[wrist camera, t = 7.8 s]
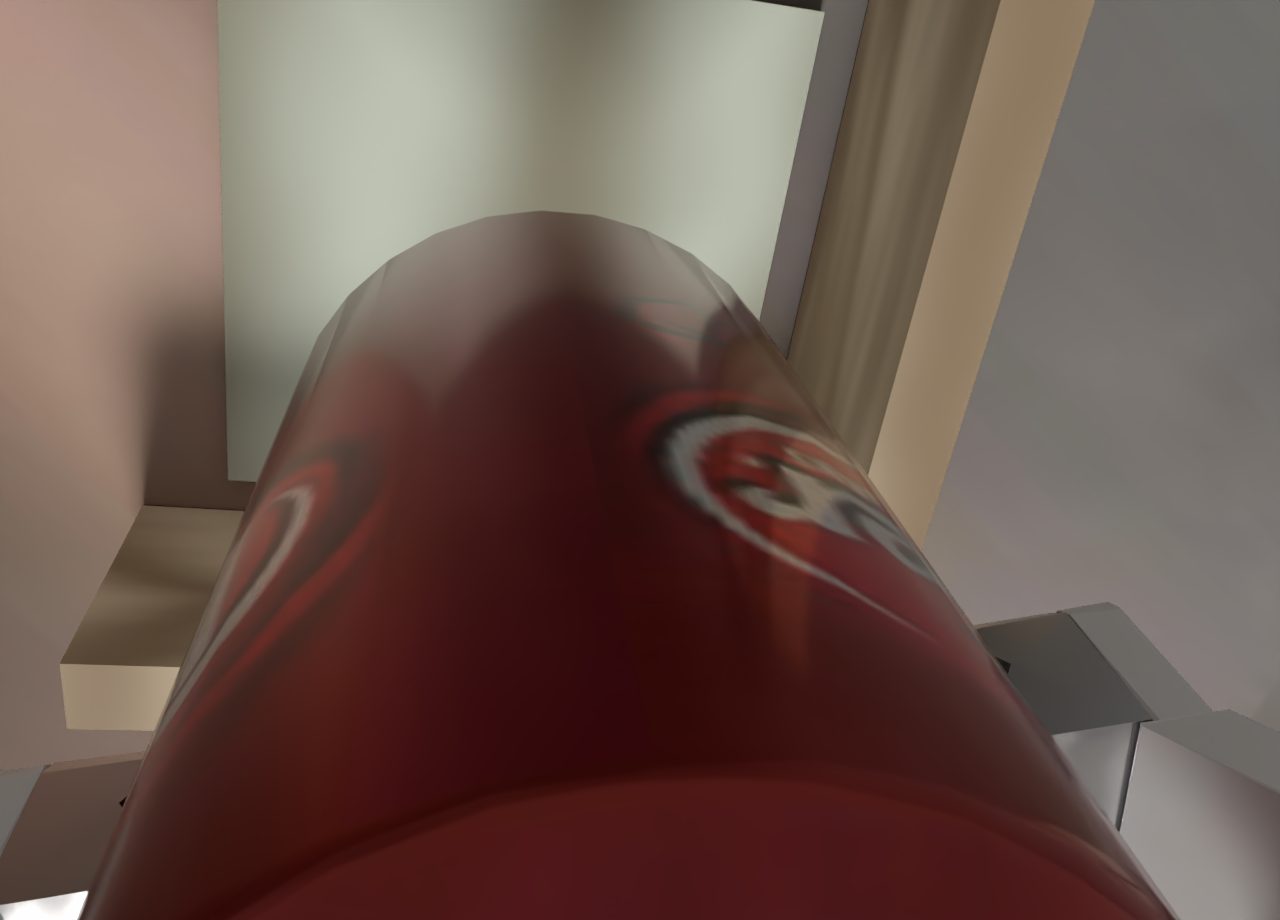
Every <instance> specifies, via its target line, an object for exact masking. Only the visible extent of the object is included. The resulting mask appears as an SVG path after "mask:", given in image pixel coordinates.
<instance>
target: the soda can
mask: <svg viewBox="0 0 1280 920" xmlns="http://www.w3.org/2000/svg"><path fill="white" fill-rule="evenodd" d="M76 920H1181V919H1180V918H1179V917H1178V915H1177V914H1176V912H1175V911H1174V910H1173V908H1172V907H1171V905H1170V904H1169V902H1168V901H1167V900H1166V898H1165V897H1164V895H1163V894H1162V893H1161V891H1160V890H1159V888H1158V887H1157V885H1156V884H1155V883H1154V881H1153V880H1152V878H1151V877H1150V875H1149V874H1148V873H1147V871H1146V870H1145V868H1144V867H1143V866H1142V864H1141V863H1140V861H1139V860H1138V858H1137V857H1136V856H1135V854H1134V853H1133V851H1132V850H1131V849H1130V847H1129V846H1128V844H1127V843H1126V841H1125V840H1124V839H1123V837H1122V836H1121V834H1120V833H1119V831H1118V830H1117V829H1116V827H1115V826H1114V824H1113V823H1112V822H1111V820H1110V819H1109V817H1108V816H1107V814H1106V813H1105V812H1104V810H1103V809H1102V807H1101V806H1100V805H1099V803H1098V802H1097V800H1096V799H1095V797H1094V796H1093V795H1092V793H1091V792H1090V790H1089V789H1088V787H1087V786H1086V785H1085V783H1084V782H1083V780H1082V779H1081V778H1080V776H1079V775H1078V773H1077V772H1076V770H1075V769H1074V768H1073V766H1072V765H1071V763H1070V762H1069V761H1068V759H1067V758H1066V756H1065V755H1064V753H1063V752H1062V751H1061V749H1060V748H1059V746H1058V745H1057V743H1056V742H1055V741H1054V739H1053V738H1052V736H1051V735H1050V734H1049V732H1048V731H1047V729H1046V728H1045V726H1044V725H1043V724H1042V722H1041V721H1040V719H1039V718H1038V716H1037V715H1036V714H1035V712H1034V711H1033V709H1032V708H1031V707H1030V705H1029V704H1028V702H1027V701H1026V699H1025V698H1024V697H1023V695H1022V694H1021V692H1020V691H1019V690H1018V688H1017V687H1016V685H1015V684H1014V682H1013V681H1012V680H1011V678H1010V677H1009V675H1008V674H1007V672H1006V671H1005V670H1004V668H1003V667H1002V665H1001V664H1000V663H999V661H998V660H997V658H996V657H995V655H994V654H993V653H992V651H991V650H990V648H989V647H988V646H987V644H986V643H985V641H984V640H983V638H982V637H981V636H980V634H979V633H978V631H977V630H976V628H975V627H974V626H973V624H972V623H971V621H970V620H969V619H968V617H967V616H966V614H965V613H964V611H963V610H962V609H961V607H960V606H959V604H958V603H957V602H956V600H955V599H954V597H953V596H952V594H951V593H950V592H949V590H948V589H947V587H946V586H945V584H944V583H943V582H942V580H941V579H940V577H939V576H938V575H937V573H936V572H935V570H934V569H933V567H932V566H931V565H930V563H929V562H928V560H927V559H926V558H925V556H924V555H923V553H922V552H921V550H920V549H919V548H918V546H917V545H916V543H915V542H914V540H913V539H912V538H911V536H910V535H909V533H908V532H907V531H906V529H905V528H904V526H903V525H902V523H901V522H900V521H899V519H898V518H897V516H896V515H895V514H894V512H893V511H892V509H891V508H890V506H889V505H888V504H887V502H886V501H885V499H884V498H883V496H882V495H881V494H880V492H879V491H878V489H877V488H876V487H875V485H874V484H873V482H872V481H871V479H870V478H869V477H868V475H867V474H866V472H865V471H864V470H863V468H862V467H861V465H860V464H859V462H858V461H857V460H856V458H855V457H854V455H853V454H852V452H851V451H850V450H849V448H848V447H847V445H846V444H845V443H844V441H843V440H842V438H841V437H840V435H839V434H838V433H837V431H836V430H835V428H834V427H833V426H832V424H831V423H830V421H829V420H828V418H827V417H826V416H825V414H824V413H823V411H822V410H821V408H820V407H819V406H818V404H817V403H816V401H815V400H814V399H813V397H812V396H811V394H810V393H809V391H808V390H807V389H806V387H805V386H804V384H803V383H802V382H801V380H800V379H799V377H798V376H797V374H796V373H795V372H794V370H793V369H792V367H791V366H790V364H789V363H788V362H787V360H786V359H785V357H784V356H783V355H782V353H781V352H780V350H779V349H778V347H777V346H776V345H775V343H774V342H773V340H772V339H771V338H770V336H769V335H768V333H767V332H766V330H765V329H764V328H763V326H762V325H761V323H760V322H759V321H758V319H757V318H756V317H755V316H754V314H753V313H752V312H751V311H750V309H749V308H748V307H747V306H746V304H745V303H744V302H743V301H742V299H741V298H740V297H739V296H738V294H737V293H736V292H735V291H734V289H733V288H732V287H731V286H730V284H728V283H727V282H726V281H725V280H723V279H722V278H721V277H720V276H719V275H717V274H716V273H715V272H714V271H712V270H711V269H710V268H709V267H708V266H706V265H705V264H704V263H703V262H701V261H700V260H699V259H698V258H697V257H695V256H694V255H693V254H692V253H690V252H688V251H686V250H684V249H682V248H680V247H678V246H676V245H674V244H672V243H670V242H669V241H667V240H665V239H663V238H661V237H659V236H657V235H655V234H653V233H651V232H649V231H647V230H645V229H643V228H639V227H636V226H632V225H629V224H625V223H622V222H618V221H615V220H611V219H608V218H604V217H601V216H597V215H593V214H580V213H568V212H555V211H543V210H539V211H531V212H522V213H513V214H505V215H496V216H487V217H484V218H481V219H478V220H475V221H472V222H469V223H466V224H462V225H459V226H456V227H453V228H450V229H447V230H444V231H441V232H438V233H435V234H433V235H432V236H430V237H428V238H426V239H424V240H423V241H421V242H419V243H417V244H416V245H414V246H412V247H410V248H409V249H407V250H405V251H403V252H401V253H400V254H398V255H396V256H394V257H393V258H391V259H389V260H388V261H387V262H386V263H385V264H383V265H382V266H381V267H380V268H379V269H378V270H377V271H375V272H374V273H373V274H372V275H371V276H370V277H369V278H367V279H366V280H365V281H364V282H363V283H362V284H361V285H359V286H358V287H357V288H356V289H355V290H354V291H353V292H351V293H350V294H349V295H348V296H347V298H346V299H345V300H344V302H343V303H342V305H341V306H340V307H339V309H338V310H337V311H336V313H335V314H334V315H333V317H332V318H331V319H330V321H329V322H328V323H327V325H326V326H325V327H324V329H323V330H322V331H321V333H320V334H319V335H318V338H317V340H316V342H315V344H314V347H313V349H312V351H311V353H310V356H309V358H308V360H307V362H306V365H305V367H304V369H303V371H302V374H301V376H300V378H299V380H298V383H297V385H296V388H295V390H294V392H293V395H292V397H291V400H290V402H289V405H288V407H287V409H286V412H285V414H284V417H283V419H282V422H281V424H280V426H279V429H278V431H277V434H276V436H275V439H274V441H273V443H272V446H271V448H270V451H269V453H268V456H267V458H266V460H265V463H264V465H263V468H262V470H261V473H260V475H259V477H258V480H257V482H256V485H255V487H254V490H253V492H252V494H251V497H250V499H249V502H248V504H247V506H246V509H245V511H244V514H243V516H242V519H241V521H240V523H239V526H238V528H237V531H236V533H235V536H234V538H233V540H232V543H231V545H230V548H229V550H228V553H227V555H226V557H225V560H224V562H223V565H222V567H221V570H220V572H219V574H218V577H217V579H216V582H215V584H214V587H213V589H212V591H211V594H210V596H209V599H208V601H207V604H206V606H205V608H204V611H203V613H202V616H201V618H200V621H199V623H198V625H197V628H196V630H195V633H194V635H193V637H192V640H191V642H190V645H189V647H188V650H187V652H186V654H185V657H184V659H183V662H182V664H181V667H180V669H179V671H178V674H177V676H176V679H175V681H174V684H173V686H172V688H171V691H170V693H169V696H168V698H167V701H166V703H165V705H164V708H163V710H162V713H161V715H160V718H159V720H158V722H157V725H156V727H155V730H154V732H153V735H152V737H151V739H150V742H149V744H148V747H147V749H146V752H145V754H144V756H143V759H142V761H141V764H140V766H139V769H138V771H137V773H136V776H135V778H134V781H133V783H132V785H131V788H130V790H129V793H128V795H127V798H126V800H125V802H124V805H123V807H122V810H121V812H120V815H119V817H118V819H117V822H116V824H115V827H114V829H113V832H112V834H111V836H110V839H109V841H108V844H107V846H106V849H105V851H104V853H103V856H102V858H101V861H100V863H99V866H98V868H97V870H96V873H95V875H94V878H93V880H92V883H91V885H90V887H89V890H88V892H87V895H86V897H85V900H84V902H83V904H82V907H81V909H80V912H79V914H78V917H77V919H76Z"/></svg>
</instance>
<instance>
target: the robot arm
mask: <svg viewBox="0 0 1280 920" xmlns="http://www.w3.org/2000/svg"><path fill="white" fill-rule="evenodd" d="M973 626H974V627H975V628H976V630H977V631H978V633H979V634H980V636H981V637H982V638H983V640H984V641H985V643H986V644H987V646H988V647H989V648H990V650H991V651H992V653H993V654H994V655H995V657H996V658H997V660H998V661H999V663H1000V664H1001V665H1002V667H1003V668H1004V670H1005V671H1006V672H1007V674H1008V675H1009V677H1010V678H1011V680H1012V681H1013V682H1014V684H1015V685H1016V687H1017V688H1018V690H1019V691H1020V692H1021V694H1022V695H1023V697H1024V698H1025V699H1026V701H1027V702H1028V704H1029V705H1030V707H1031V708H1032V709H1033V711H1034V712H1035V714H1036V715H1037V716H1038V718H1039V719H1040V721H1041V722H1042V724H1043V725H1044V726H1045V728H1046V729H1047V731H1048V732H1049V734H1050V735H1051V736H1052V738H1053V739H1054V741H1055V742H1056V743H1057V745H1058V746H1059V748H1060V749H1061V751H1062V752H1063V753H1064V755H1065V756H1066V758H1067V759H1068V761H1069V762H1070V763H1071V765H1072V766H1073V768H1074V769H1075V770H1076V772H1077V773H1078V775H1079V776H1080V778H1081V779H1082V780H1083V782H1084V783H1085V785H1086V786H1087V787H1088V789H1089V790H1090V792H1091V793H1092V795H1093V796H1094V797H1095V799H1096V800H1097V802H1098V803H1099V805H1100V806H1101V807H1102V809H1103V810H1104V812H1105V813H1106V814H1107V816H1108V817H1109V819H1110V820H1111V822H1112V823H1113V824H1114V826H1115V827H1116V829H1117V830H1118V831H1119V833H1120V834H1121V836H1122V837H1123V839H1124V840H1125V841H1126V843H1127V844H1128V846H1129V847H1130V849H1131V850H1132V851H1133V853H1134V854H1135V856H1136V857H1137V858H1138V860H1139V861H1140V863H1141V864H1142V866H1143V867H1144V868H1145V870H1146V871H1147V873H1148V874H1149V875H1150V877H1151V878H1152V880H1153V881H1154V883H1155V884H1156V885H1157V887H1158V888H1159V890H1160V891H1161V893H1162V894H1163V895H1164V897H1165V898H1166V900H1167V901H1168V902H1169V904H1170V905H1171V907H1172V908H1173V910H1174V911H1175V912H1176V914H1177V915H1178V917H1179V918H1180V919H1181V920H1280V732H1279V731H1277V730H1274V729H1273V728H1270V727H1268V726H1266V725H1263V724H1261V723H1259V722H1257V721H1254V720H1252V719H1250V718H1248V717H1245V716H1243V715H1241V714H1239V713H1236V712H1234V711H1232V710H1230V709H1228V710H1221V711H1214V712H1213V710H1212V709H1211V708H1210V707H1209V706H1208V705H1207V704H1206V703H1205V702H1204V701H1203V699H1202V698H1201V697H1200V696H1199V695H1198V694H1197V693H1196V692H1195V691H1194V689H1193V688H1192V687H1191V686H1190V685H1189V684H1188V683H1187V682H1186V681H1185V679H1184V678H1183V677H1182V676H1181V675H1180V674H1179V673H1178V672H1177V671H1176V669H1175V668H1174V667H1173V666H1172V665H1171V664H1170V663H1169V662H1168V661H1167V659H1166V658H1165V657H1164V656H1163V655H1162V654H1161V653H1160V652H1159V651H1158V649H1157V648H1156V647H1155V646H1154V645H1153V644H1152V643H1151V642H1150V641H1149V640H1148V638H1147V637H1146V636H1145V635H1144V634H1143V633H1142V632H1141V631H1140V630H1139V628H1138V627H1137V626H1136V625H1135V624H1134V623H1133V622H1132V621H1131V620H1130V618H1129V617H1128V616H1127V615H1126V614H1125V613H1124V612H1123V611H1122V610H1121V609H1120V608H1119V607H1118V606H1115V605H1113V604H1111V603H1109V602H1105V603H1099V604H1094V605H1088V606H1082V607H1076V608H1071V609H1065V610H1059V611H1057V612H1056V613H1048V614H1041V615H1035V616H1029V617H1022V618H1016V619H1010V620H1004V621H997V622H991V623H985V624H978V625H973ZM145 752H146V751H141V752H134V753H126V754H118V755H110V756H103V757H95V758H87V759H80V760H72V761H64V762H57V763H53V764H52V765H41V766H33V767H26V768H18V769H11V770H3V771H0V920H76V919H77V917H78V914H79V912H80V909H81V907H82V904H83V902H84V900H85V897H86V895H87V892H88V890H89V887H90V885H91V883H92V880H93V878H94V875H95V873H96V870H97V868H98V866H99V863H100V861H101V858H102V856H103V853H104V851H105V849H106V846H107V844H108V841H109V839H110V836H111V834H112V832H113V829H114V827H115V824H116V822H117V819H118V817H119V815H120V812H121V810H122V807H123V805H124V802H125V800H126V798H127V795H128V793H129V790H130V788H131V785H132V783H133V781H134V778H135V776H136V773H137V771H138V769H139V766H140V764H141V761H142V759H143V756H144V754H145Z"/></svg>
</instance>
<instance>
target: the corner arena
mask: <svg viewBox="0 0 1280 920" xmlns="http://www.w3.org/2000/svg"><path fill="white" fill-rule="evenodd" d="M1094 3H1095V0H869V3H868V8H867V12H866V16H865V21H864V25H863V29H862V34H861V38H860V43H859V47H858V51H857V56H856V60H855V64H854V69H853V73H852V78H851V82H850V86H849V91H848V95H847V99H846V104H845V108H844V113H843V117H842V121H841V126H840V130H839V134H838V139H837V143H836V148H835V152H834V156H833V161H832V165H831V169H830V174H829V178H828V182H827V187H826V191H825V196H824V200H823V204H822V209H821V213H820V217H819V222H818V226H817V231H816V235H815V239H814V244H813V248H812V252H811V257H810V261H809V266H808V270H807V274H806V279H805V283H804V287H803V292H802V296H801V301H800V305H799V309H798V314H797V318H796V322H795V327H794V331H793V336H792V340H791V344H790V349H789V353H788V357H787V362H788V363H789V364H790V366H791V367H792V369H793V370H794V372H795V373H796V374H797V376H798V377H799V379H800V380H801V382H802V383H803V384H804V386H805V387H806V389H807V390H808V391H809V393H810V394H811V396H812V397H813V399H814V400H815V401H816V403H817V404H818V406H819V407H820V408H821V410H822V411H823V413H824V414H825V416H826V417H827V418H828V420H829V421H830V423H831V424H832V426H833V427H834V428H835V430H836V431H837V433H838V434H839V435H840V437H841V438H842V440H843V441H844V443H845V444H846V445H847V447H848V448H849V450H850V451H851V452H852V454H853V455H854V457H855V458H856V460H857V461H858V462H859V464H860V465H861V467H862V468H863V470H864V471H865V472H866V474H867V475H868V477H869V478H870V479H871V481H872V482H873V484H874V485H875V487H876V488H877V489H878V491H879V492H880V494H881V495H882V496H883V498H884V499H885V501H886V502H887V504H888V505H889V506H890V508H891V509H892V511H893V512H894V514H895V515H896V516H897V518H898V519H899V521H900V522H901V523H902V525H903V526H904V528H905V529H906V531H907V532H908V533H909V535H910V536H911V538H912V539H913V540H914V542H915V543H916V545H917V546H918V548H919V549H920V550H922V547H923V544H924V541H925V538H926V535H927V531H928V528H929V525H930V522H931V519H932V516H933V512H934V509H935V506H936V503H937V500H938V497H939V493H940V490H941V487H942V484H943V481H944V478H945V474H946V471H947V468H948V465H949V462H950V459H951V455H952V452H953V449H954V446H955V443H956V440H957V436H958V433H959V430H960V427H961V424H962V421H963V417H964V414H965V411H966V408H967V405H968V402H969V398H970V395H971V392H972V389H973V386H974V383H975V379H976V376H977V373H978V370H979V367H980V364H981V360H982V357H983V354H984V351H985V348H986V345H987V341H988V338H989V335H990V332H991V329H992V326H993V322H994V319H995V316H996V313H997V310H998V307H999V303H1000V300H1001V297H1002V294H1003V291H1004V288H1005V284H1006V281H1007V278H1008V275H1009V272H1010V269H1011V265H1012V262H1013V259H1014V256H1015V253H1016V250H1017V246H1018V243H1019V240H1020V237H1021V234H1022V231H1023V227H1024V224H1025V221H1026V218H1027V215H1028V212H1029V208H1030V205H1031V202H1032V199H1033V196H1034V193H1035V189H1036V186H1037V183H1038V180H1039V177H1040V174H1041V170H1042V167H1043V164H1044V161H1045V158H1046V155H1047V151H1048V148H1049V145H1050V142H1051V139H1052V136H1053V132H1054V129H1055V126H1056V123H1057V120H1058V117H1059V113H1060V110H1061V107H1062V104H1063V101H1064V98H1065V94H1066V91H1067V88H1068V85H1069V82H1070V79H1071V75H1072V72H1073V69H1074V66H1075V63H1076V60H1077V56H1078V53H1079V50H1080V47H1081V44H1082V41H1083V37H1084V34H1085V31H1086V28H1087V25H1088V22H1089V18H1090V15H1091V12H1092V9H1093V6H1094ZM824 13H825V12H822V11H818V10H812V9H806V8H799V7H793V6H787V5H781V4H774V3H768V2H762V1H755V0H217V19H218V63H219V108H220V152H221V196H222V240H223V284H224V329H225V373H226V417H227V461H228V480H233V481H249V482H257V480H258V477H259V475H260V473H261V470H262V468H263V465H264V463H265V460H266V458H267V456H268V453H269V451H270V448H271V446H272V443H273V441H274V439H275V436H276V434H277V431H278V429H279V426H280V424H281V422H282V419H283V417H284V414H285V412H286V409H287V407H288V405H289V402H290V400H291V397H292V395H293V392H294V390H295V388H296V385H297V383H298V380H299V378H300V376H301V374H302V371H303V369H304V367H305V365H306V362H307V360H308V358H309V356H310V353H311V351H312V349H313V347H314V344H315V342H316V340H317V338H318V335H319V334H320V333H321V331H322V330H323V329H324V327H325V326H326V325H327V323H328V322H329V321H330V319H331V318H332V317H333V315H334V314H335V313H336V311H337V310H338V309H339V307H340V306H341V305H342V303H343V302H344V300H345V299H346V298H347V296H348V295H349V294H350V293H351V292H353V291H354V290H355V289H356V288H357V287H358V286H359V285H361V284H362V283H363V282H364V281H365V280H366V279H367V278H369V277H370V276H371V275H372V274H373V273H374V272H375V271H377V270H378V269H379V268H380V267H381V266H382V265H383V264H385V263H386V262H387V261H388V260H389V259H391V258H393V257H394V256H396V255H398V254H400V253H401V252H403V251H405V250H407V249H409V248H410V247H412V246H414V245H416V244H417V243H419V242H421V241H423V240H424V239H426V238H428V237H430V236H432V235H433V234H435V233H438V232H441V231H444V230H447V229H450V228H453V227H456V226H459V225H462V224H466V223H469V222H472V221H475V220H478V219H481V218H484V217H487V216H496V215H505V214H513V213H522V212H531V211H539V210H543V211H555V212H568V213H580V214H593V215H597V216H601V217H604V218H608V219H611V220H615V221H618V222H622V223H625V224H629V225H632V226H636V227H639V228H643V229H645V230H647V231H649V232H651V233H653V234H655V235H657V236H659V237H661V238H663V239H665V240H667V241H669V242H670V243H672V244H674V245H676V246H678V247H680V248H682V249H684V250H686V251H688V252H690V253H692V254H693V255H694V256H695V257H697V258H698V259H699V260H700V261H701V262H703V263H704V264H705V265H706V266H708V267H709V268H710V269H711V270H712V271H714V272H715V273H716V274H717V275H719V276H720V277H721V278H722V279H723V280H725V281H726V282H727V283H728V284H730V286H731V287H732V288H733V289H734V291H735V292H736V293H737V294H738V296H739V297H740V298H741V299H742V301H743V302H744V303H745V304H746V306H747V307H748V308H749V309H750V311H751V312H752V313H753V314H754V316H755V317H756V318H757V319H758V321H759V319H760V315H761V310H762V305H763V301H764V296H765V291H766V286H767V282H768V277H769V272H770V268H771V263H772V258H773V253H774V249H775V244H776V239H777V235H778V230H779V225H780V221H781V216H782V211H783V206H784V202H785V197H786V192H787V188H788V183H789V178H790V173H791V169H792V164H793V159H794V155H795V150H796V145H797V141H798V136H799V131H800V126H801V122H802V117H803V112H804V108H805V103H806V98H807V93H808V89H809V84H810V79H811V75H812V70H813V65H814V61H815V56H816V51H817V46H818V42H819V37H820V32H821V28H822V23H823V18H824ZM243 514H244V511H233V510H215V509H198V508H180V507H162V506H144V505H143V506H142V508H141V510H140V512H139V514H138V516H137V517H136V519H135V521H134V523H133V525H132V527H131V529H130V531H129V533H128V535H127V537H126V538H125V540H124V542H123V544H122V546H121V548H120V550H119V552H118V554H117V556H116V558H115V559H114V561H113V563H112V565H111V567H110V569H109V571H108V573H107V575H106V577H105V578H104V580H103V582H102V584H101V586H100V588H99V590H98V592H97V594H96V596H95V598H94V599H93V601H92V603H91V605H90V607H89V609H88V611H87V613H86V615H85V617H84V619H83V620H82V622H81V624H80V626H79V628H78V630H77V632H76V634H75V636H74V638H73V639H72V641H71V643H70V645H69V647H68V649H67V651H66V653H65V655H64V657H63V659H62V660H61V662H60V671H61V680H62V689H63V698H64V707H65V716H66V725H67V729H92V730H149V731H154V730H155V727H156V725H157V722H158V720H159V718H160V715H161V713H162V710H163V708H164V705H165V703H166V701H167V698H168V696H169V693H170V691H171V688H172V686H173V684H174V681H175V679H176V676H177V674H178V671H179V669H180V667H181V664H182V662H183V659H184V657H185V654H186V652H187V650H188V647H189V645H190V642H191V640H192V637H193V635H194V633H195V630H196V628H197V625H198V623H199V621H200V618H201V616H202V613H203V611H204V608H205V606H206V604H207V601H208V599H209V596H210V594H211V591H212V589H213V587H214V584H215V582H216V579H217V577H218V574H219V572H220V570H221V567H222V565H223V562H224V560H225V557H226V555H227V553H228V550H229V548H230V545H231V543H232V540H233V538H234V536H235V533H236V531H237V528H238V526H239V523H240V521H241V519H242V516H243Z"/></svg>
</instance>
